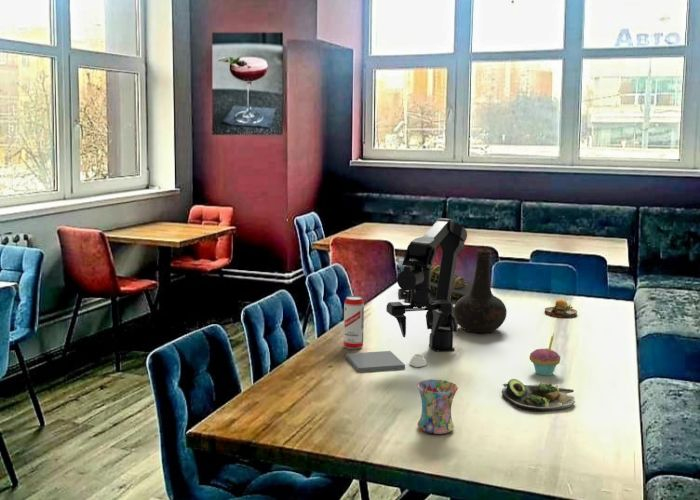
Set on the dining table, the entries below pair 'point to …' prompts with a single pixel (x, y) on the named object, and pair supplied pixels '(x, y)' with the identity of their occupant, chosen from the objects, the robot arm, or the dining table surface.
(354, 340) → the beer can
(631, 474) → the dining table surface
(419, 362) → the white jar
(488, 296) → the dark brown vase
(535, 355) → the cupcake
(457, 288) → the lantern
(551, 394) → the salad plate
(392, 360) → the coaster
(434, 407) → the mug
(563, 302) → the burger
